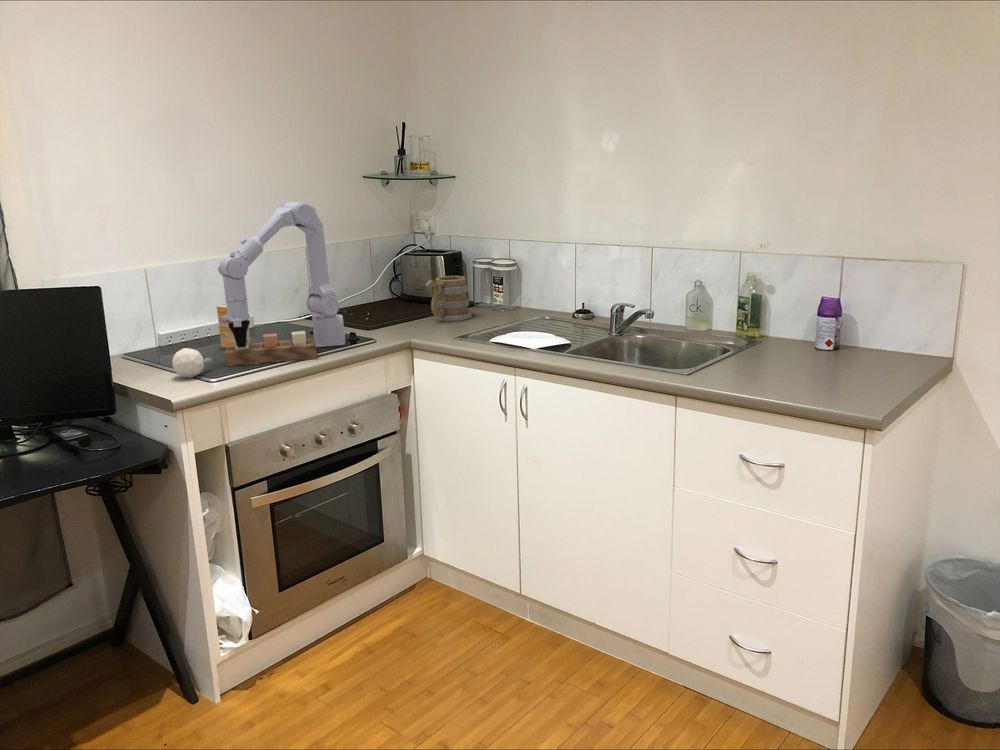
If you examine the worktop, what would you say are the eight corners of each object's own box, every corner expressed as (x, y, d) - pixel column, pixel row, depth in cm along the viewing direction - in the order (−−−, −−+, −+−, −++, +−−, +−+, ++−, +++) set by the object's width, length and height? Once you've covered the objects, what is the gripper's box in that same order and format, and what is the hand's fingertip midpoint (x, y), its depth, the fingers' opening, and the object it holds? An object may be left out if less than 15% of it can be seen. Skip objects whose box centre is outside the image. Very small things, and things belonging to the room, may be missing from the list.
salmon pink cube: (278, 345, 235) (276, 333, 234) (278, 348, 232) (276, 335, 231) (264, 346, 234) (263, 334, 233) (264, 349, 231) (262, 337, 230)
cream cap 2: (306, 343, 237) (305, 330, 236) (306, 346, 234) (305, 333, 233) (292, 344, 236) (291, 332, 235) (293, 347, 233) (291, 334, 232)
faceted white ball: (160, 365, 215) (194, 360, 226) (179, 386, 213) (213, 379, 224) (172, 343, 212) (206, 339, 223) (192, 363, 210) (225, 358, 221)
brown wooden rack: (315, 351, 242) (314, 337, 240) (317, 358, 232) (316, 345, 231) (228, 358, 236) (226, 345, 235) (226, 366, 226) (224, 353, 225)
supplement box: (220, 348, 249) (215, 306, 245) (232, 344, 253) (227, 303, 250) (240, 350, 245) (235, 307, 242) (252, 347, 249) (247, 305, 246)
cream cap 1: (250, 357, 234) (249, 344, 233) (250, 360, 231) (248, 347, 230) (236, 358, 233) (235, 345, 232) (236, 361, 230) (234, 348, 229)
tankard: (450, 312, 293) (448, 271, 288) (477, 315, 285) (476, 273, 281) (413, 323, 277) (410, 279, 273) (441, 326, 270) (439, 282, 266)
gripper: (223, 296, 233) (228, 342, 237) (219, 305, 220) (225, 353, 223) (248, 295, 235) (253, 340, 238) (246, 303, 221) (252, 351, 225)
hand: (241, 347), depth 231 cm, fingers closed, pressing on cream cap 1
